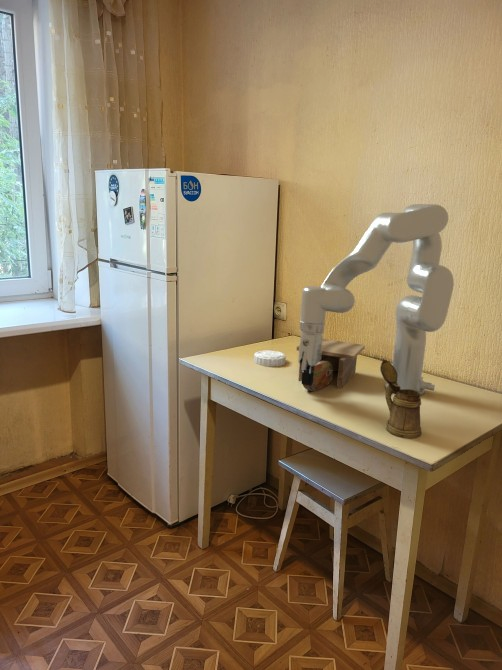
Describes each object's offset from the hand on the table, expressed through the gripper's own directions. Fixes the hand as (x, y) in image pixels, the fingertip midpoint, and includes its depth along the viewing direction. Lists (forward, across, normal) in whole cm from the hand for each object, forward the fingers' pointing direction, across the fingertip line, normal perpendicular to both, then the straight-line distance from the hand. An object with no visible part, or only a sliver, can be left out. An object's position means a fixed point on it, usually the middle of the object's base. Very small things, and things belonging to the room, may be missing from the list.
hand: (307, 384), depth 160 cm
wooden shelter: (+4, +23, 0) cm, 23 cm away
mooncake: (+4, +28, +24) cm, 37 cm away
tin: (+4, +9, -1) cm, 10 cm away
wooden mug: (+4, -11, -30) cm, 32 cm away
